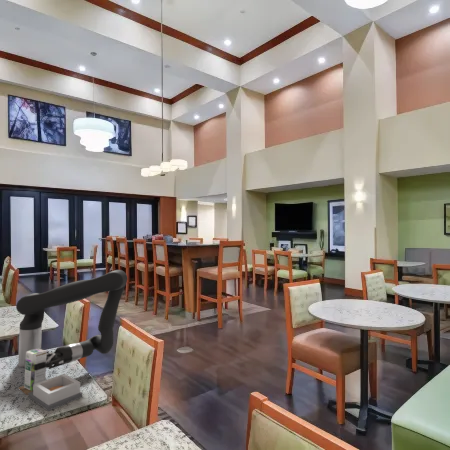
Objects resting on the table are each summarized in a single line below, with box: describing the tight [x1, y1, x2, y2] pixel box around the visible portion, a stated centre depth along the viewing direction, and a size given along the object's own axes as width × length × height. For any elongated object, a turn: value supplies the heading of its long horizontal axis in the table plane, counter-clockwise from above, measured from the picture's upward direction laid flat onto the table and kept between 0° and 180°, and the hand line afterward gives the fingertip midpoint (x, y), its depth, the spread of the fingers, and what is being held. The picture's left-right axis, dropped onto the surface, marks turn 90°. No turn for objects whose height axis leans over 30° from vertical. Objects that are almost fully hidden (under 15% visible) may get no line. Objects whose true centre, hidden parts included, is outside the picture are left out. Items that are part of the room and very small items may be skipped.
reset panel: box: [27, 373, 84, 412], centre depth 127 cm, size 16×13×6 cm
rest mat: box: [18, 385, 32, 396], centre depth 134 cm, size 8×8×1 cm
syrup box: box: [23, 348, 48, 391], centre depth 134 cm, size 6×6×14 cm
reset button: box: [49, 386, 64, 391], centre depth 127 cm, size 6×6×2 cm
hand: (29, 365), depth 132 cm, fingers open, 8 cm apart
